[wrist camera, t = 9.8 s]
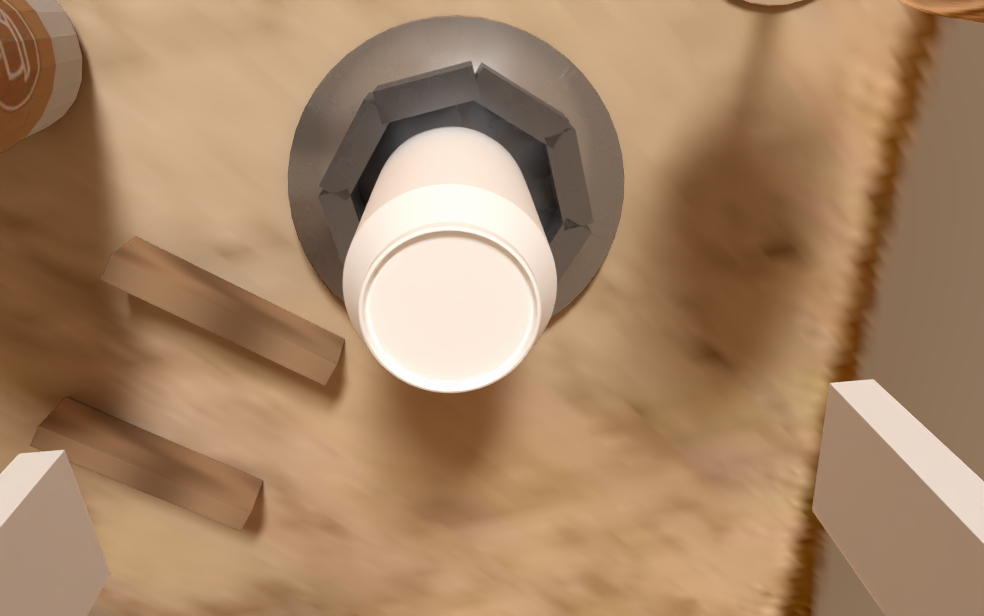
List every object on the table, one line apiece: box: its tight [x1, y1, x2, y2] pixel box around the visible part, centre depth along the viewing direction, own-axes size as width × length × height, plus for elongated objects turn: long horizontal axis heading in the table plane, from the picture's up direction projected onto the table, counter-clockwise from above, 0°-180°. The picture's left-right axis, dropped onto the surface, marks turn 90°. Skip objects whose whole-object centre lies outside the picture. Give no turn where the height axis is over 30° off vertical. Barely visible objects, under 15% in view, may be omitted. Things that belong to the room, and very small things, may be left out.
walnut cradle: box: [30, 237, 345, 531], centre depth 33 cm, size 10×10×2 cm
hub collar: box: [288, 15, 624, 318], centre depth 30 cm, size 14×14×3 cm
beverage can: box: [343, 126, 557, 393], centre depth 25 cm, size 6×6×12 cm
